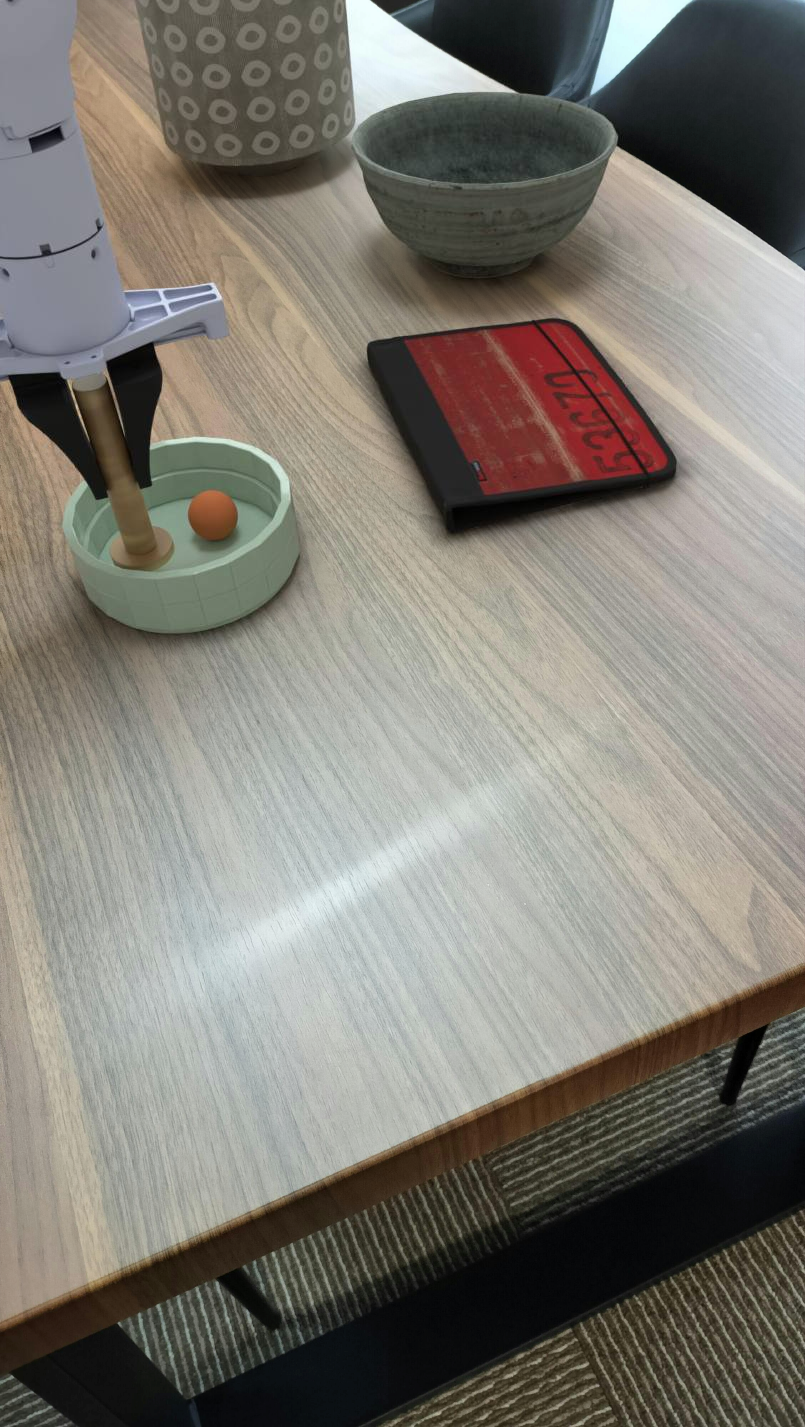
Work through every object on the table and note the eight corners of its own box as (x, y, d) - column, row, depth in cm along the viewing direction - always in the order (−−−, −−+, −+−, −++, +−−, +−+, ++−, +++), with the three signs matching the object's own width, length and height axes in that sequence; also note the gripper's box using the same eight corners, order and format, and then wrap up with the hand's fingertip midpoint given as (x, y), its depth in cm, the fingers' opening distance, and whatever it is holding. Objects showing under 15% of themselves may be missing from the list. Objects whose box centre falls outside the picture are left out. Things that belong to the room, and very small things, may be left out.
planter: (397, 150, 104) (384, -72, 90) (255, 216, 95) (218, -17, 82) (272, 111, 113) (244, -95, 99) (133, 168, 104) (81, -48, 91)
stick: (117, 580, 58) (57, 408, 50) (107, 542, 60) (48, 372, 52) (180, 564, 58) (130, 391, 50) (168, 527, 61) (119, 356, 52)
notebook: (446, 505, 61) (364, 338, 75) (446, 536, 63) (365, 367, 77) (693, 461, 64) (570, 307, 78) (686, 492, 66) (566, 336, 79)
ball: (193, 553, 63) (182, 513, 60) (194, 522, 65) (183, 483, 62) (242, 547, 63) (233, 507, 60) (241, 517, 65) (232, 477, 62)
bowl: (318, 293, 85) (303, 165, 77) (422, 191, 97) (417, 71, 89) (558, 335, 78) (566, 199, 71) (637, 220, 90) (651, 94, 83)
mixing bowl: (75, 650, 58) (50, 591, 55) (94, 508, 67) (74, 450, 64) (305, 622, 59) (295, 562, 56) (295, 485, 68) (285, 425, 64)
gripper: (-129, 305, 42) (-9, 563, 52) (219, 231, 44) (268, 490, 54) (-131, 235, 46) (-20, 485, 56) (185, 172, 49) (237, 422, 59)
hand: (121, 483), depth 56 cm, fingers closed on stick, 2 cm apart
